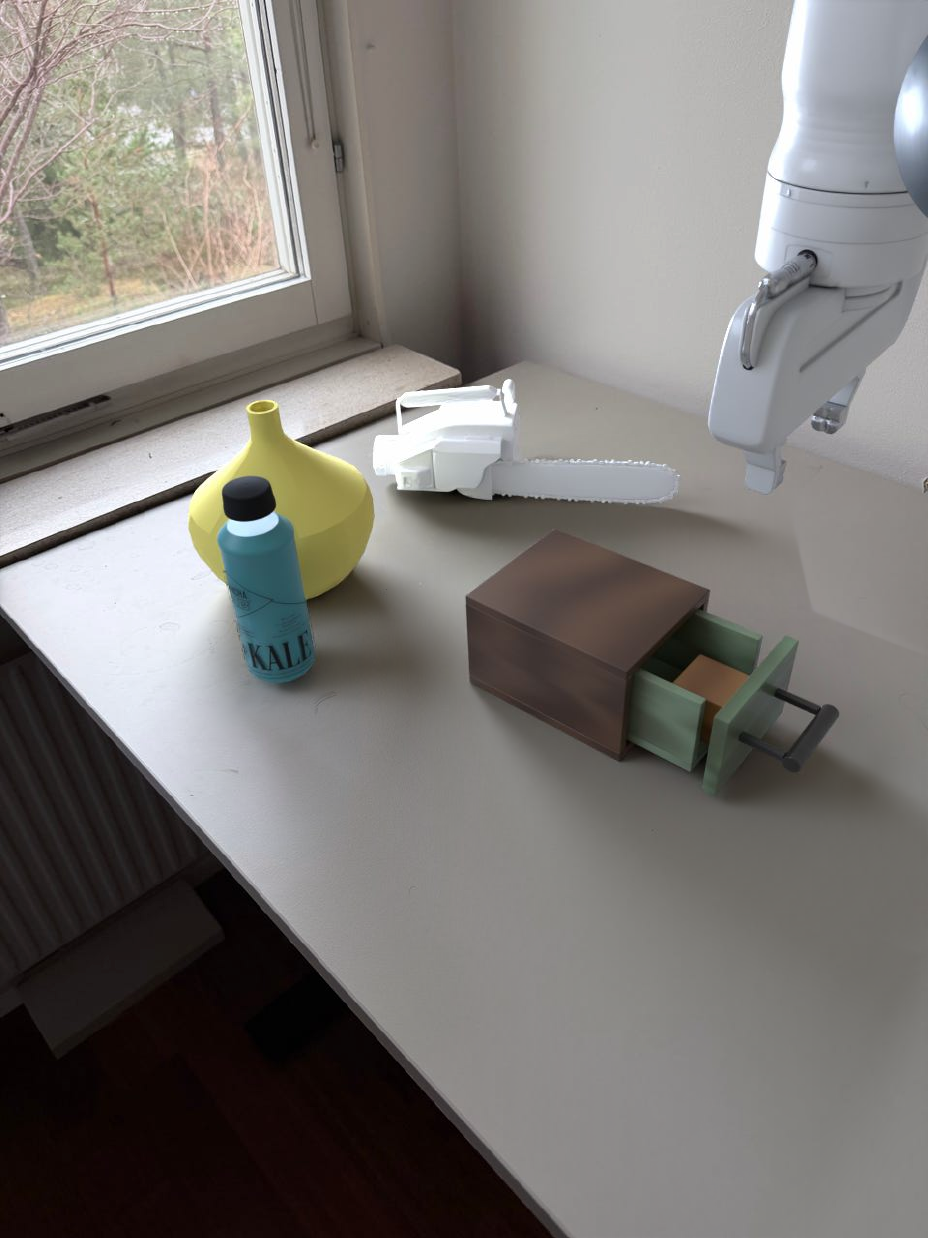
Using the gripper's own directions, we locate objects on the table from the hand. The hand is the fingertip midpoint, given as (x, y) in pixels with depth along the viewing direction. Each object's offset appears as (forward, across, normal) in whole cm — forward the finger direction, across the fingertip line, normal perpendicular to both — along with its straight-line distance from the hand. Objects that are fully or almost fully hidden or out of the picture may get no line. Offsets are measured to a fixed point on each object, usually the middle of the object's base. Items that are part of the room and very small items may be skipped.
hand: (796, 456), depth 59 cm
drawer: (+26, 0, +4) cm, 26 cm away
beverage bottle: (+27, -16, +37) cm, 49 cm away
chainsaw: (+27, +25, +40) cm, 55 cm away
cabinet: (+27, 0, +15) cm, 31 cm away
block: (+25, 0, +3) cm, 25 cm away
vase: (+27, -5, +48) cm, 55 cm away
